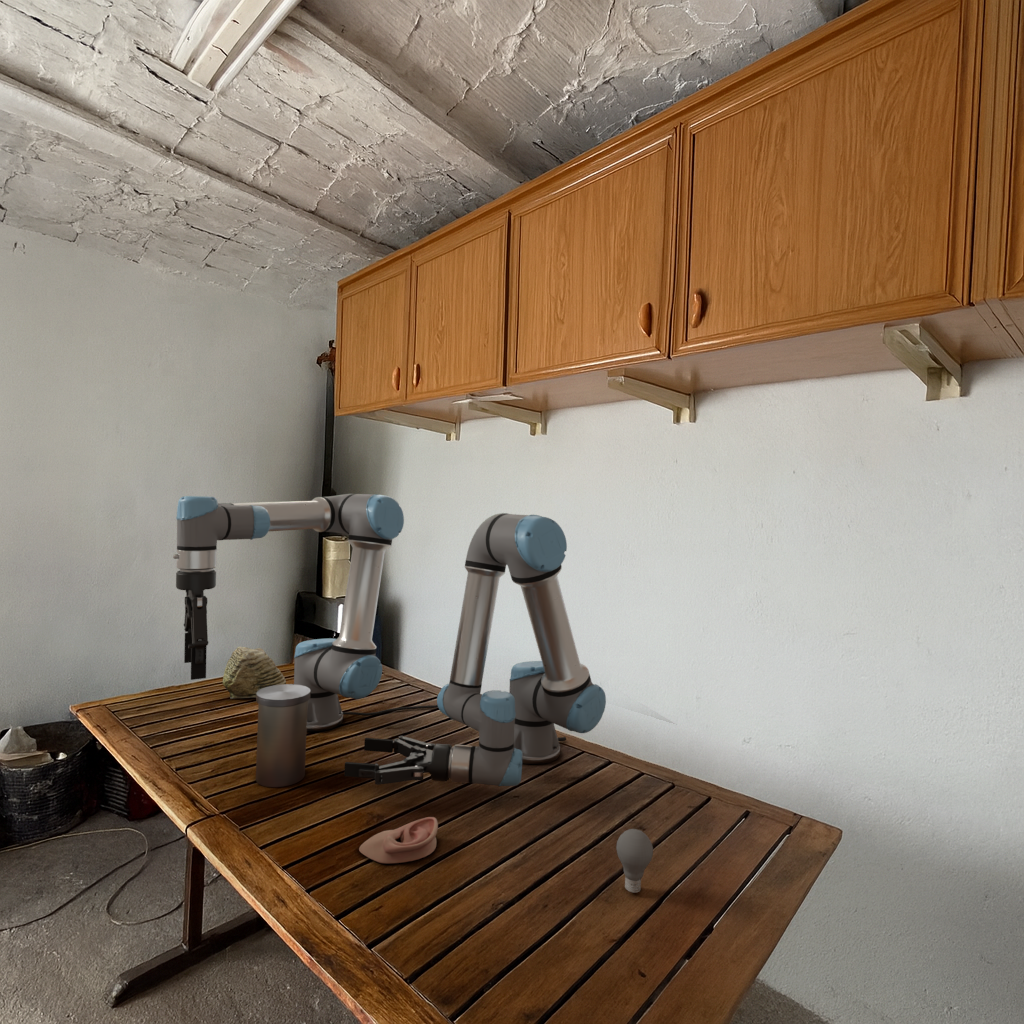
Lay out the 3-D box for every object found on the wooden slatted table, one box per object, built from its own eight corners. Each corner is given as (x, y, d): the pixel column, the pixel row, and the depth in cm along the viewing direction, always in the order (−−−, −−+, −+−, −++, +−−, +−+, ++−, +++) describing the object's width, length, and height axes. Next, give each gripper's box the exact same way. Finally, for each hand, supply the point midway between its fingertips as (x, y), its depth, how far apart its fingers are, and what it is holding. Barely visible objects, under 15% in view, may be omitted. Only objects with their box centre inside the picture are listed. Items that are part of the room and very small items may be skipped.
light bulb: (610, 879, 108) (613, 822, 108) (644, 879, 109) (647, 822, 109) (619, 902, 102) (622, 840, 102) (655, 901, 103) (658, 840, 103)
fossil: (218, 695, 195) (220, 647, 195) (278, 685, 208) (279, 640, 207) (228, 703, 189) (230, 653, 188) (289, 692, 201) (290, 645, 201)
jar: (263, 791, 135) (266, 703, 135) (250, 773, 143) (253, 690, 143) (311, 780, 141) (314, 696, 141) (296, 763, 150) (299, 684, 149)
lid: (264, 710, 134) (264, 702, 134) (249, 695, 143) (250, 688, 143) (317, 701, 141) (317, 694, 141) (300, 688, 150) (300, 681, 150)
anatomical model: (352, 836, 111) (378, 805, 123) (351, 858, 111) (377, 826, 123) (423, 847, 109) (444, 815, 120) (422, 870, 109) (443, 836, 120)
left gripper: (171, 563, 141) (170, 657, 142) (181, 578, 120) (179, 689, 121) (208, 562, 145) (206, 654, 146) (224, 576, 124) (222, 683, 125)
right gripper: (439, 807, 125) (334, 799, 127) (459, 757, 150) (371, 750, 151) (441, 770, 125) (336, 762, 126) (460, 725, 150) (372, 719, 151)
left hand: (194, 670), depth 133 cm, fingers open, 13 cm apart
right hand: (355, 755), depth 139 cm, fingers open, 13 cm apart
